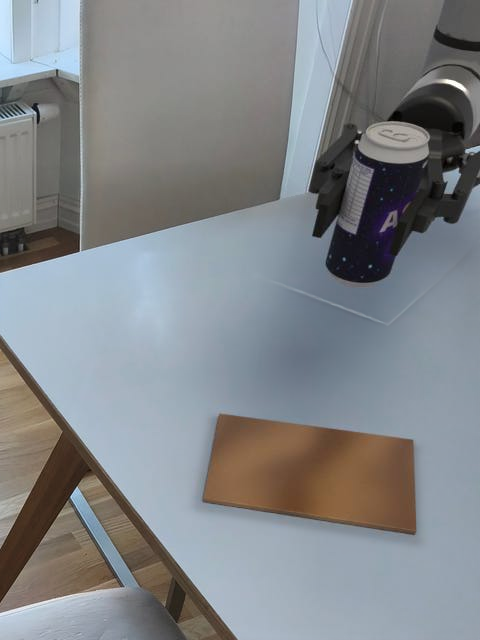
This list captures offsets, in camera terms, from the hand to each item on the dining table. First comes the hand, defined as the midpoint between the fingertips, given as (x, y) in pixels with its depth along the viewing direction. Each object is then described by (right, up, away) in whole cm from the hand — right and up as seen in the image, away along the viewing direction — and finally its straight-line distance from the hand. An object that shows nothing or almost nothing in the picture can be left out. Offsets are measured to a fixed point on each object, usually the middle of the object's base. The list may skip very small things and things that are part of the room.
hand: (358, 229), depth 72 cm
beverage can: (+3, -1, +8) cm, 8 cm away
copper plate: (+2, -17, +17) cm, 24 cm away
